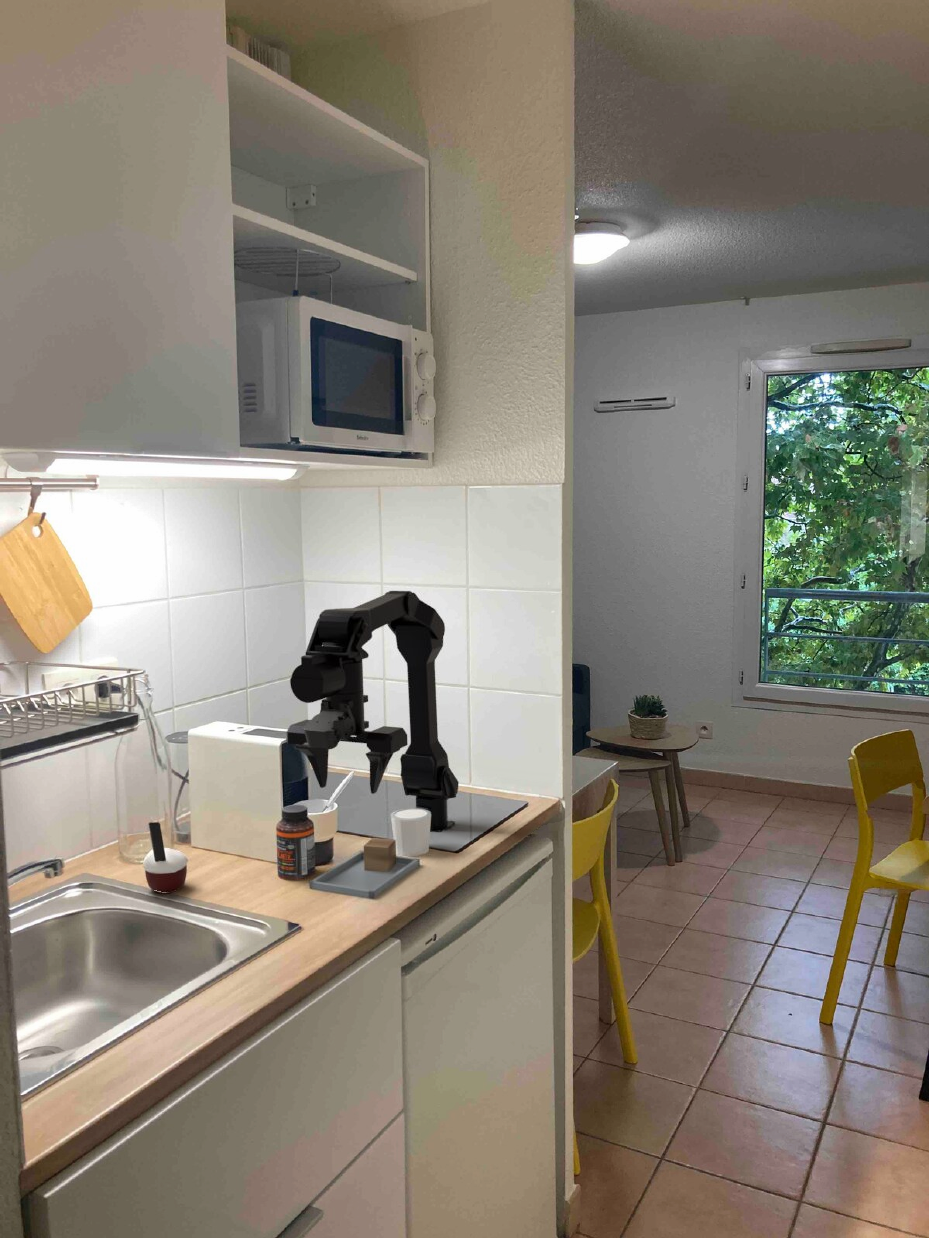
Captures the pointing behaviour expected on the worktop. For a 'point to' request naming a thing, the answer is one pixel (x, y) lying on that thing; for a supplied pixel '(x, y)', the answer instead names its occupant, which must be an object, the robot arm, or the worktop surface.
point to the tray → (362, 877)
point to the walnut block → (380, 855)
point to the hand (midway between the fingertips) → (348, 790)
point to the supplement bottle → (295, 844)
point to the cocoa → (164, 864)
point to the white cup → (411, 831)
